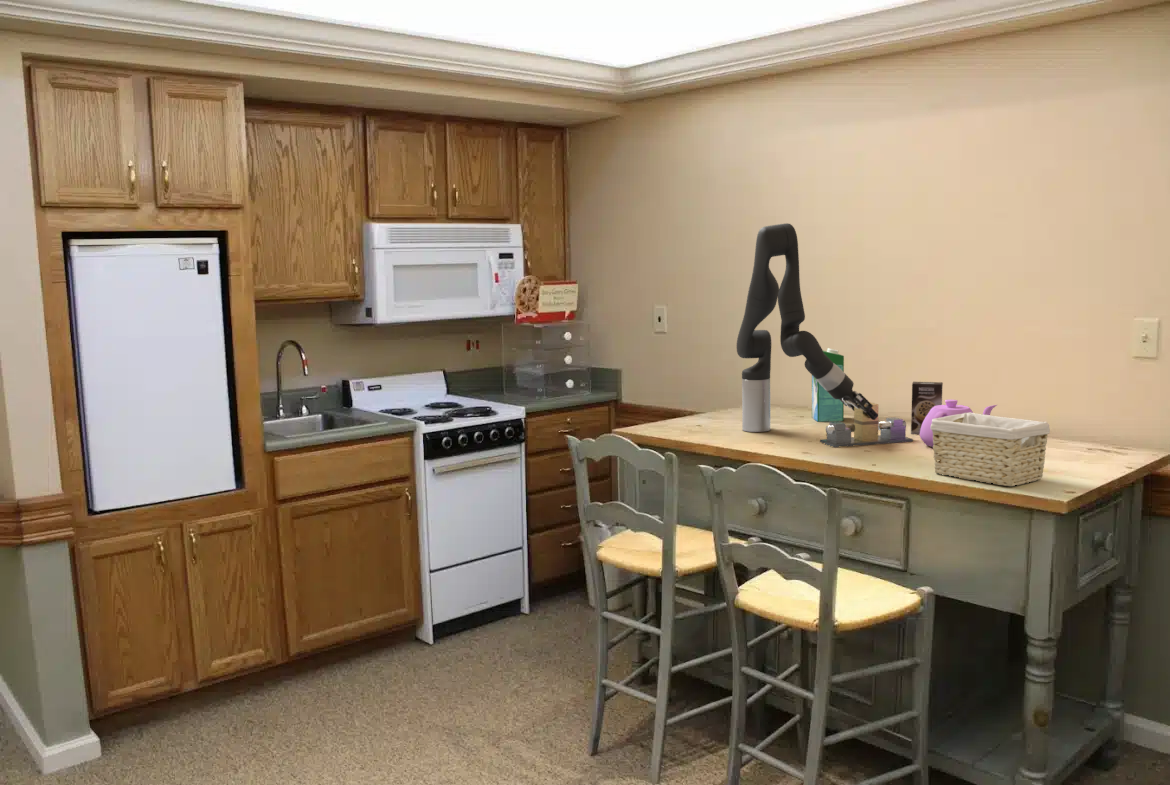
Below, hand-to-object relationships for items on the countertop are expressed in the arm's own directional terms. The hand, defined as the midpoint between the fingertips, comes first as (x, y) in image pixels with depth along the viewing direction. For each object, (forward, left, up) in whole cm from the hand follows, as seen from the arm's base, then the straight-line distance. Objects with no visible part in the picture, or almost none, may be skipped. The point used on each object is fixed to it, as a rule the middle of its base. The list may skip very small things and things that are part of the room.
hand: (868, 415), depth 290 cm
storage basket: (+50, +18, -8) cm, 54 cm away
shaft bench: (0, -1, -8) cm, 8 cm away
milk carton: (-43, -4, -8) cm, 44 cm away
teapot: (+11, +23, -8) cm, 27 cm away
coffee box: (-13, +21, -8) cm, 26 cm away
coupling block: (0, -1, -7) cm, 7 cm away
